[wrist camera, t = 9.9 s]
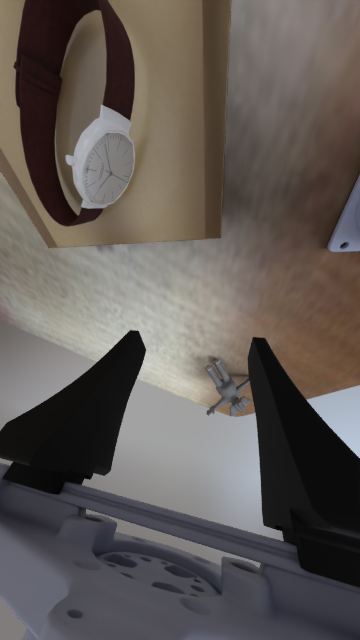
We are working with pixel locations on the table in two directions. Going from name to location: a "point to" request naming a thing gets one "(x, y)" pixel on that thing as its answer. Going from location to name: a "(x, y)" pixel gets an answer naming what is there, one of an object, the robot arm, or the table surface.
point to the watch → (41, 108)
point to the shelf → (135, 121)
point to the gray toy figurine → (227, 390)
